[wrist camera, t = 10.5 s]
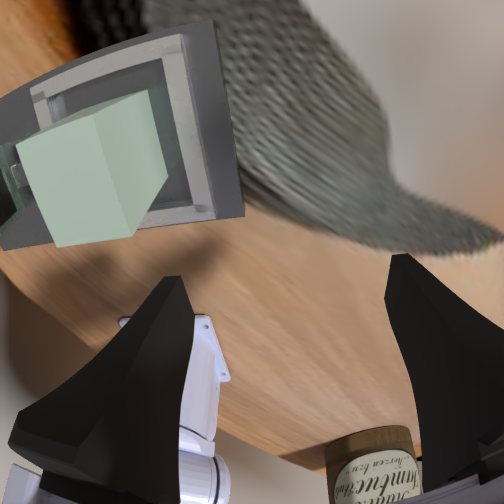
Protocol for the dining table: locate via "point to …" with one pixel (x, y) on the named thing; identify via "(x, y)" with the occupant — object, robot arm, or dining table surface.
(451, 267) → the dining table surface
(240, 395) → the dining table surface
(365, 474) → the wooden container
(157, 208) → the rail
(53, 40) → the dining table surface
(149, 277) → the dining table surface
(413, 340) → the robot arm
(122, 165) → the block
